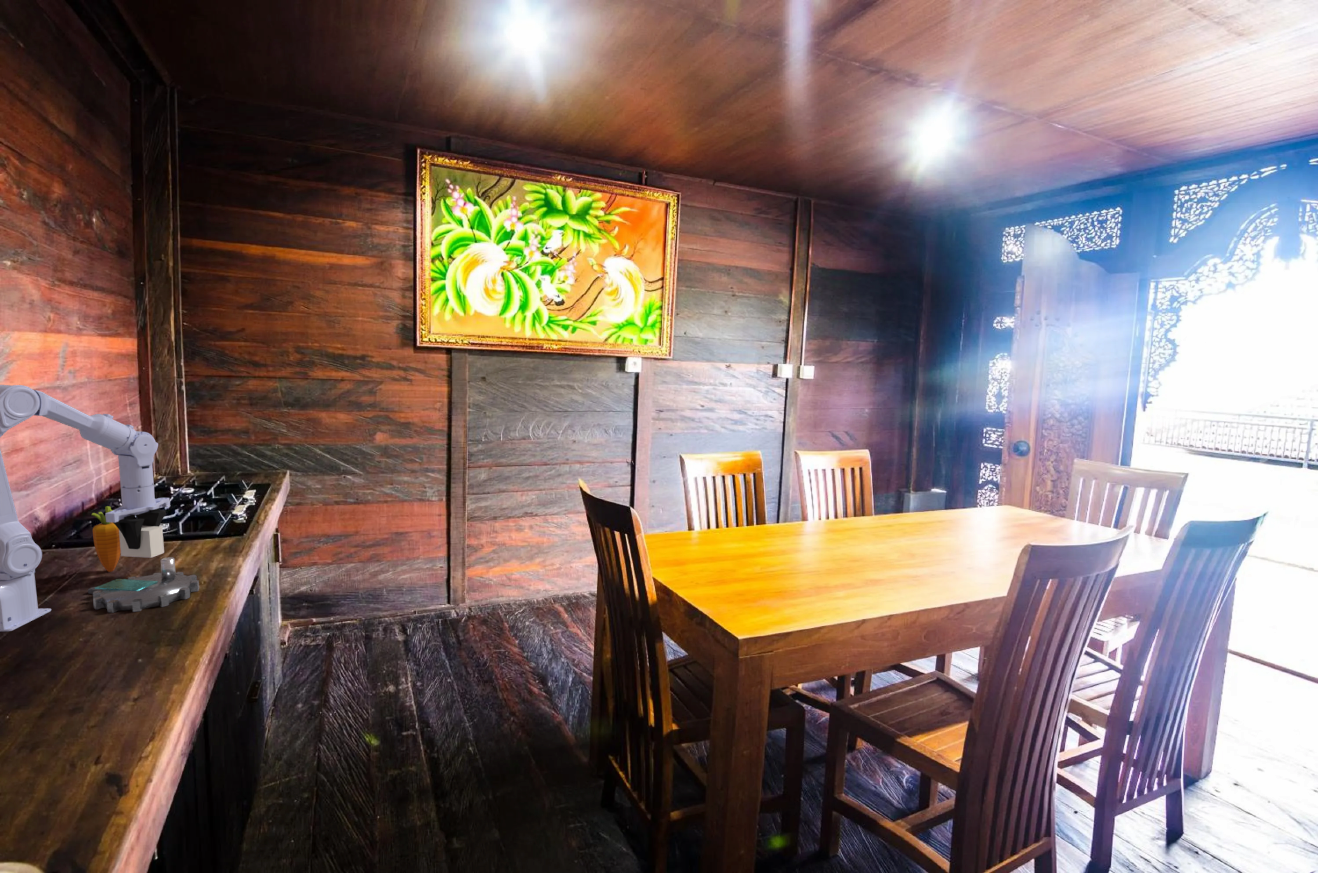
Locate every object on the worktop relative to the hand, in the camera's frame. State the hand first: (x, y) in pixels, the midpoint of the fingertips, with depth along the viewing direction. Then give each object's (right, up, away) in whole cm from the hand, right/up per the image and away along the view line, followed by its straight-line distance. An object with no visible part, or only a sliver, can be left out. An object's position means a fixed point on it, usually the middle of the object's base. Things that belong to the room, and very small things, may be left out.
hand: (142, 545), depth 148 cm
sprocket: (+9, -9, -10) cm, 16 cm away
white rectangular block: (0, -2, 0) cm, 2 cm away
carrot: (-9, -7, +3) cm, 12 cm away
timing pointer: (-2, -9, -9) cm, 13 cm away
